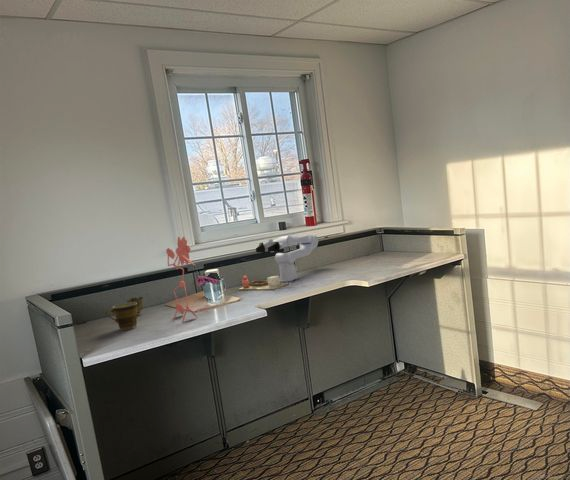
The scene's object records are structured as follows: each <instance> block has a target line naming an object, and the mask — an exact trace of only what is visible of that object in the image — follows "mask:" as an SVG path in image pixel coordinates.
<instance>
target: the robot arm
mask: <svg viewBox="0 0 570 480" xmlns="http://www.w3.org/2000/svg"><path fill="white" fill-rule="evenodd" d="M298 244H299V248H298V249H294V250H291V251H289V252H280V251H281V250H282V249H284V248H286V247H292V246H296V245H298ZM318 244H319V237H318V236H317V235H311V234H309V235H308V234H305V235H296V234H294V233H291V234H287V235H285V236H284V235H283V236H279V237H278V238H276V239H272V238H270V239H268V242H266V243H264V242H260V243H259V244H258V246H257V247H256V248H255V251H256V253H262V254H265V253H266V251H267V252H270V253H274V252H275V253H276V254H275V256H274V261H275V263H276V265H278V266H279V268H278V269H279V275H280V276H279V278H280V279H279V280H280V283H282V282H284V283H286V282H293V281H295V280H298V279H299V277H297V276H298V275H297V274H298V273H297V267H296V265H295V264H294V262H295V261H296V260H297V259H300V258H303V257H306V256H309V255H310V254H311V253H312V252H313V251H314V249H316V248H317V247H318Z"/></svg>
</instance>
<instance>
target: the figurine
mask: <svg viewBox="0 0 570 480" xmlns="http://www.w3.org/2000/svg"><path fill="white" fill-rule="evenodd" d="M176 245H177V248H176V249H175V252H174V251H173V250H172V249H170V248H169V247H168V248H167V249H166V250H165V251H166V254H167V266H168V267H171V266H172V267H174V268H175V270H179V269H180V270H182V278H181V279H182V280H180V281H179V282H178V285H179V286H177V287H175V288H174V289H173V293H174V297H175V300H176V302H177V303H176V304H175V313H174V316H173V319H176V316H177V313H178V312H179V314H181V315H183V317H182V321H185V319H186V316H187V315H186V314H187V313H191V314H192V315H193V316H195V318H199V317H198V316H197V315H196V314H195V310H192V309H191V308H190V307H189V303H188V295H187V289H186V282H185V281H184V278H185V277H184V276H185V269H184V268H183V267H180V265H181V266H183V265H184V263H185V264H186V265H189V263H190V264H191V265H192V266H196V264H195V263H193V261H191V260H190V254H189V253H190V252H191V247H190V246H189V245H188V240H187V239H186V237H185V236H182V238H181V237H180V236H178V237H177V244H176ZM174 258H175V259H174ZM170 259H172V260H174V262H173V263H171V264H170ZM177 260H178V264H176V262H177ZM178 288H184V292H185V297H186V298H185V299H186V305H185V306H184V307H185V308H184V307H183V305H181V303H179V301H178V297H177V294H176V291H175V290H177V289H178ZM202 312H205V313H209V314H210V312H209V311H207V310H205V311H204V310H202Z"/></svg>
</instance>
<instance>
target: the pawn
mask: <svg viewBox="0 0 570 480" xmlns="http://www.w3.org/2000/svg"><path fill="white" fill-rule="evenodd" d="M241 282H242V287H243V288H249V282H250V281H249V278H248V276H247V275H243V276H242V279H241Z"/></svg>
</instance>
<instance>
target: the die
mask: <svg viewBox="0 0 570 480" xmlns="http://www.w3.org/2000/svg"><path fill="white" fill-rule="evenodd" d="M266 279H267V280H266V281H268V286H277V285H280V284H281V282H280V280H281V279H280V276H279V275H273V276H272V275H271V276H269V277H266Z"/></svg>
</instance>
